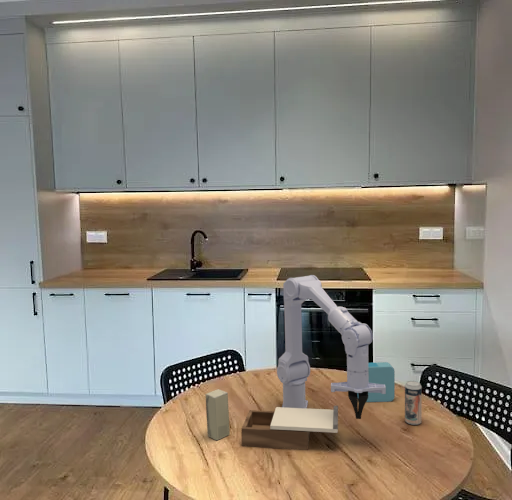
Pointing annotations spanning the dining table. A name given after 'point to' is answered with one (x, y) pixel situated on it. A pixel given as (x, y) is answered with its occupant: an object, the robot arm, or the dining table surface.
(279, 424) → the lid
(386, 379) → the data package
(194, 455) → the dining table surface
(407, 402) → the beer can
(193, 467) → the dining table surface
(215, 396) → the box
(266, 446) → the walnut box
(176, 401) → the dining table surface
